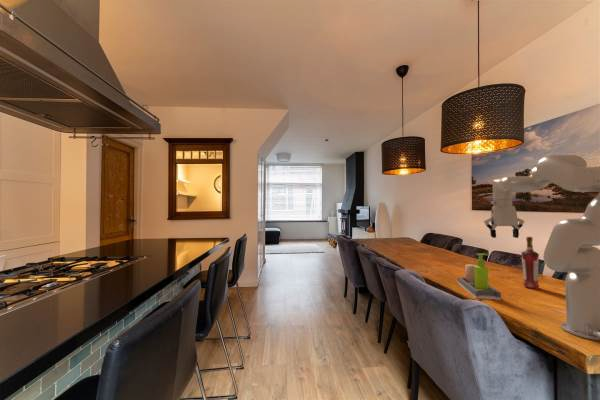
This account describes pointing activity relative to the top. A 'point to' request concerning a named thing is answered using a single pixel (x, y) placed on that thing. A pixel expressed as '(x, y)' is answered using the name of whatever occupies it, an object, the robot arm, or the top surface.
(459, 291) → the top surface
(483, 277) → the soap dispenser
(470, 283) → the rail
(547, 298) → the top surface
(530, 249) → the liquor
